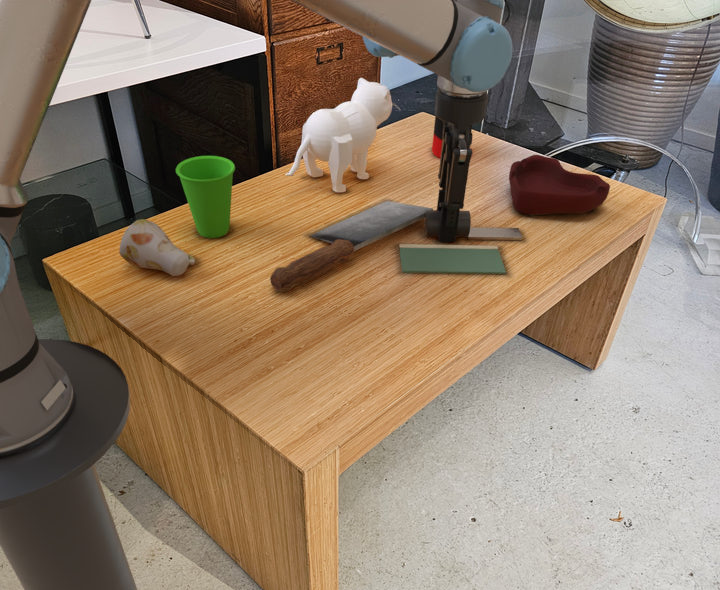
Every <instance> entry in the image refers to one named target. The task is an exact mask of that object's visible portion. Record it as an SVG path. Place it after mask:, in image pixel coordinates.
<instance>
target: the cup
mask: <svg viewBox="0 0 720 590" xmlns="http://www.w3.org/2000/svg"><path fill="white" fill-rule="evenodd" d="M235 171H236V166H235V163H233V161H232V160H230V159H228V158H226V157H222V156H218V155H200V156H193V157H190V158H187V159H184V160H183V161H181V162H179V163H178V164H177V166H176V168H175V173H176V175H177V176H178V177H179V180H180V182H181V187H182V189H183V192H184V195H185V198H186V201H187V204H188V207H189V209H190V214H191V217H192V219H193V222H194V225H195V228H196V231H197V233H198V234H199V235H200V236H202V237H204V238H206V239H207V238H208V239H216V238H220V237H223V236H225V235H227V234H228V232H229V230H230V227H231V225H230V223H231V209H232V191H233V177H234V176H233V175H234V172H235Z"/></svg>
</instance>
